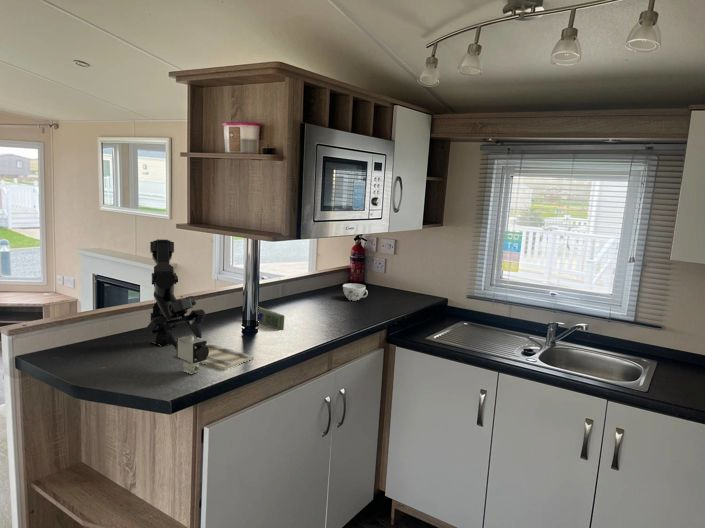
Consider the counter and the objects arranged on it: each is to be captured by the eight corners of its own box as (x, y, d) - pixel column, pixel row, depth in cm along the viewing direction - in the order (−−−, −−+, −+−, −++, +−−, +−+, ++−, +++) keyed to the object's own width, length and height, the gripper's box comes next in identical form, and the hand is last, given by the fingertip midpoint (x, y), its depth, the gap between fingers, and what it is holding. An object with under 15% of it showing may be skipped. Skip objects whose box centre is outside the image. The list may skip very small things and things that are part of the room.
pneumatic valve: (196, 379, 156) (197, 341, 154) (173, 369, 163) (173, 333, 161) (211, 374, 161) (211, 337, 159) (188, 365, 167) (188, 330, 166)
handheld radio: (278, 331, 212) (244, 318, 229) (284, 330, 214) (250, 317, 231) (279, 316, 211) (245, 303, 228) (285, 315, 213) (251, 303, 230)
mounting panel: (177, 356, 175) (177, 350, 175) (208, 346, 187) (208, 341, 187) (224, 370, 164) (224, 364, 164) (253, 359, 176) (253, 353, 176)
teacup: (337, 299, 276) (338, 285, 275) (350, 296, 287) (351, 282, 285) (360, 304, 268) (361, 289, 267) (372, 300, 278) (373, 286, 277)
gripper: (152, 292, 154) (174, 335, 150) (202, 285, 169) (224, 323, 165) (137, 313, 160) (158, 354, 155) (187, 304, 175) (208, 341, 170)
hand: (188, 342), depth 161 cm, fingers open, 9 cm apart
